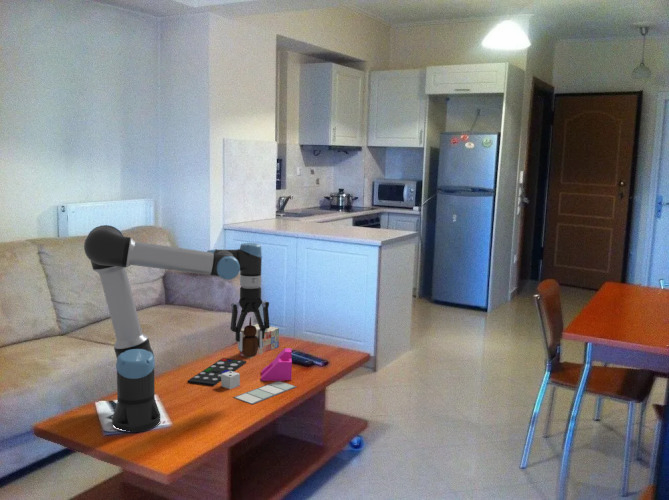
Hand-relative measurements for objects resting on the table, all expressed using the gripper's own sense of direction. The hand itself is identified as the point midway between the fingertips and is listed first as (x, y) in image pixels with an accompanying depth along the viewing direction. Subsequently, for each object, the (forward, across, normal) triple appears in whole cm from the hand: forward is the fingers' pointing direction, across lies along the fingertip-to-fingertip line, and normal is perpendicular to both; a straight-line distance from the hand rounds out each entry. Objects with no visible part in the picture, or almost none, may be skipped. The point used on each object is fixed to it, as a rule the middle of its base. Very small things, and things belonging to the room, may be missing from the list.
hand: (249, 348), depth 227 cm
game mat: (+19, +8, +4) cm, 21 cm away
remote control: (+20, -2, +32) cm, 38 cm away
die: (+19, -2, +15) cm, 24 cm away
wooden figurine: (+3, 0, 0) cm, 3 cm away
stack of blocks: (+19, +23, +53) cm, 61 cm away
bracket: (+19, +18, +19) cm, 32 cm away
